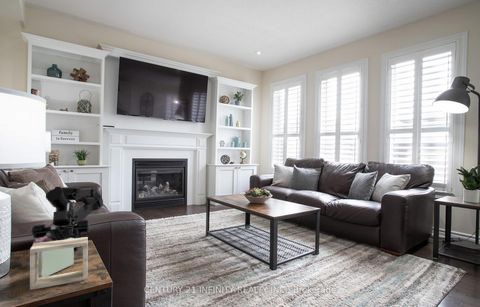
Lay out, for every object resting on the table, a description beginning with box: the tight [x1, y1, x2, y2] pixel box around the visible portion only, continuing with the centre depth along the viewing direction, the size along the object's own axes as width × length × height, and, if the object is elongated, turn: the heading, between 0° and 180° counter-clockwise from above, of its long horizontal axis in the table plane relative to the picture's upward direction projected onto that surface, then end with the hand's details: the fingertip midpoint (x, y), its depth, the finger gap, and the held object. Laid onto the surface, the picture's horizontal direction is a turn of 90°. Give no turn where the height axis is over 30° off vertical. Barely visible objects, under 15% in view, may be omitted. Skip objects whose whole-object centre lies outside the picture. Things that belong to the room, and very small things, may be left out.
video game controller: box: [32, 235, 54, 245], centre depth 118 cm, size 10×5×7 cm, turn 21°
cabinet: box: [29, 236, 89, 291], centre depth 91 cm, size 6×16×13 cm, turn 117°
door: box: [38, 238, 75, 278], centre depth 97 cm, size 3×12×10 cm, turn 162°
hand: (60, 248), depth 102 cm, fingers closed
